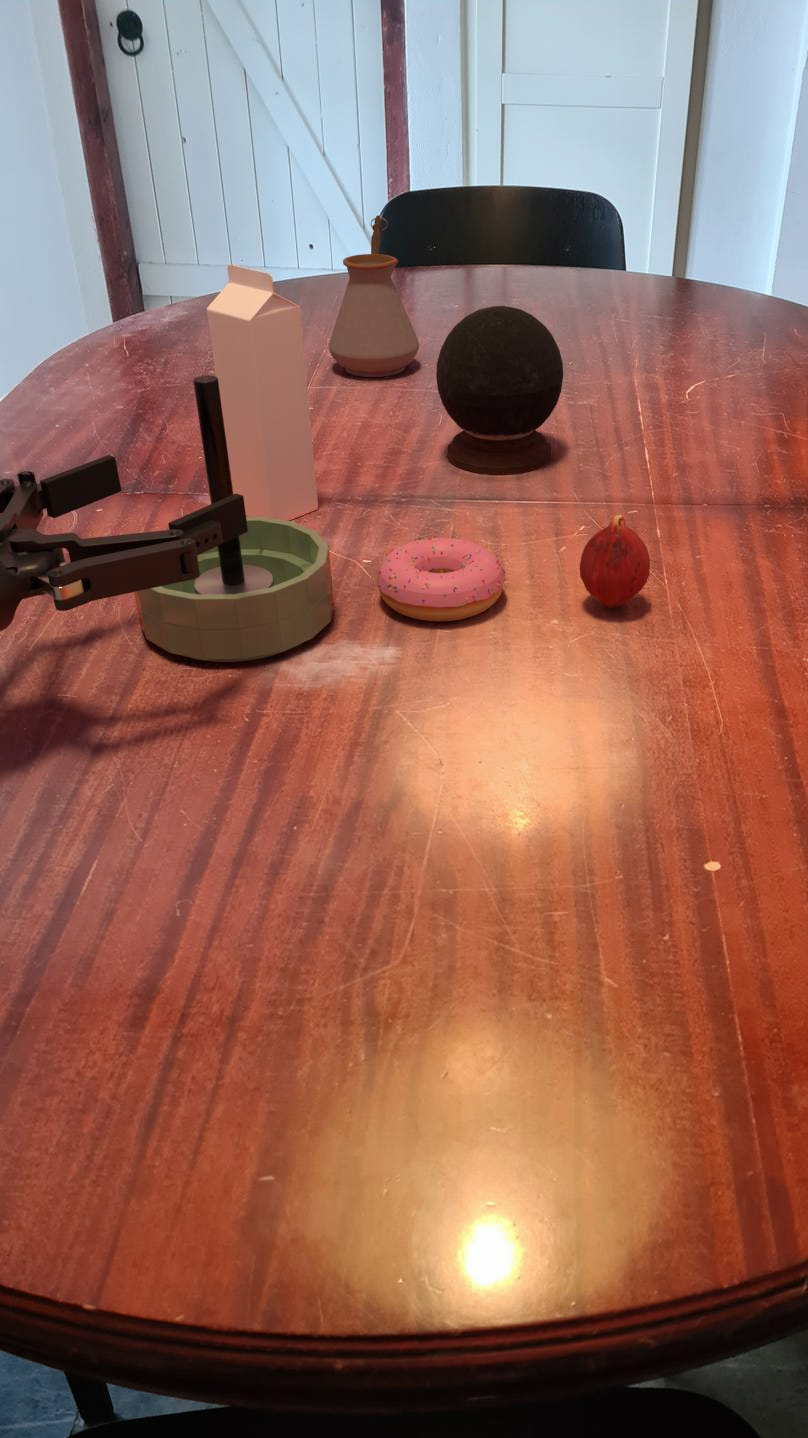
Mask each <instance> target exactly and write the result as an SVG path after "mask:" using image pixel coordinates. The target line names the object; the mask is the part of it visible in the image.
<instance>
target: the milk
mask: <svg viewBox="0 0 808 1438" xmlns="http://www.w3.org/2000/svg"><path fill="white" fill-rule="evenodd" d="M227 276H228V283H227V284H226V285H225V286H224V288H222V290H221V291H220V292H219V293H218V294H217V296H215V298H214V299H213V300H212V302H210V304H209V305H208V306H207V307H206V314H207V315H206V316H207V323H208V331H209V336H210V337H209V338H210V346H211V352H212V361H213V368H214V376H216V377H217V378H218V383H219V390H220V398H221V405H222V413H223V420H224V428H225V435H226V443H227V450H228V457H229V465H230V472H231V480H232V487H233V494H239V495H243V497H244V505H245V512H246V517H267V518H273V519H279V520H285V521H292V520H295V519H297V518H299V517H302V516H304V515H307V514H310V513H313V512H314V511H317V510H318V509H319V501H318V499H319V498H318V489H317V488H318V487H317V479H316V467H315V455H314V443H313V433H312V432H313V431H312V423H311V409H310V400H309V399H310V398H309V388H308V377H307V365H306V355H305V354H306V353H305V344H304V343H305V341H304V332H303V322H302V321H303V320H302V310H301V306H300V305H298V304H296V303H294V302H293V301H291V300H289V299H287V298H285V297H283V296H282V295H279V294H277V293H276V292H275V289H274V280H273V276H272V274H271V273H269V272H265V271H261V270H256V269H252V268H247V267H243V266H239V265H234V264H228V265H227Z"/></svg>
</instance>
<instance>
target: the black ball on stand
mask: <svg viewBox="0 0 808 1438" xmlns="http://www.w3.org/2000/svg"><path fill="white" fill-rule="evenodd" d="M435 372H436V374H435V376H436V377H435V379H436V385H437V391H438V395H439V399H440V400H441V403H442V406H443V408H444V410H445V411H446V413H447V415H448V416H449V418H451V420H452V421H453V422H454V423H455V425H457V426H458V427H459V428H460V429H461V430H462V431H459V432H458V433H457V434H455V436H453V438H452V441H450V443H449V444H448V446H447V449H446V450H447V451H446V453H447V460H448V461H449V463H450V464H452V465H453V466H454V467H456V468H459V469H461V470H464V471H467V472H471V473H476V474H481V475H497V476H498V475H499V476H503V475H516V474H523V473H527V472H528V473H529V472H531V471H535V470H538V469H540V468H542V467H545V465H547V464H548V463H549V462H550V461H551V459H552V450H553V449H552V446H551V444H550V443H549V442H548V440H547V438H546V436H545V435H544V434H543V433H541V432H540V431H538V429H539V428H540V427H542V425H544V424H545V422H546V421H547V420H548V419H549V417H550V416H551V415H552V413H553V411H554V410H555V409H556V406H557V405H558V403H559V399H560V396H561V393H562V388H563V380H564V362H563V359H562V354H561V351H560V348H559V346H558V343H557V342H556V339H555V338H554V335H553V334H552V332H550V330H549V329H548V327H547V326H546V325H545V324H544V323H542V321H540V320H539V319H537V317H535V316H534V315H533V314H531V313H529V312H527V311H525V310H523V309H521V308H517V307H512V306H507V305H492V306H488V307H483V308H479V309H477V310H475V311H474V312H471V313H470V314H468V315H465V317H463V319H461V320H460V321H459V322H458V323H456V324H455V325H454V326H453V328H452V329H451V330H450V332H449V333H448V334H447V336H446V338H445V339H444V342H443V344H442V345H441V347H440V350H439V354H438V357H437V362H436V371H435Z"/></svg>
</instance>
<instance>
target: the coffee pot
mask: <svg viewBox="0 0 808 1438" xmlns="http://www.w3.org/2000/svg"><path fill="white" fill-rule="evenodd" d="M370 220H371V221H370V227H371V229H372V231H373V232H372V235H371V237H370V240H371V241H370V253H362V254H355V255H350V256H347V257H345V258H343V259H342V264H343V266H344V267H346V270H347V273H348V278H349V279H348V282H347V285H346V287H345V291H344V295H343V298H342V301H341V304H340V307H339V310H338V314H337V316H336V319H335V323H334V325H333V326H334V327H333V329H332V333H331V336H330V338H329V341H328V350H329V353H330V355H331V356H332V358H333V359H334V360H335V361H336V362H337V364H338V365H339V366H341V367H343V368H344V370H345V371H346V373H348V374H350V375H353V376H356V377H363V378H383V377H390V376H393V375H397V374H400V373H402V372H404V371H405V370H406V366H408V365H409V364H411V362H412V361H413V360H414V359H415V357H416V356H417V354H418V352H419V348H420V342H419V339H418V337H417V334H416V332H415V330H414V327H413V325H412V322H411V321H410V318H409V316H408V313H407V311H406V308H405V307H404V304H403V302H402V300H401V298H400V295H399V293H398V291H397V288H396V285H395V284H394V282H393V279H392V274H393V273H394V270H395V269H396V266H397V264H398V263H399V260H398V258H396V257H394V256H393V255H392V256H391V255H388V254H383V253H382V254H380V249H381V243H382V237H381V236H382V235H381V233H382V231H385V230H386V229H387V228H388V226H389V223H388V221H387V219H386V218H384V217H381V216H380V215H379V214H378V215H375V217H374V218H373V219H370ZM382 220H383V221H384V222H385V223H386V225H385V227H384V228H383V226H382V225H381V224H382ZM373 221H374V224H372V223H373Z"/></svg>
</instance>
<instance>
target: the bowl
mask: <svg viewBox="0 0 808 1438" xmlns="http://www.w3.org/2000/svg"><path fill="white" fill-rule="evenodd" d="M246 520H247V528H248V532H246V533H244V534H242V535H240V536H239V540H240V547H241V555H242V562H243V564H244V565H254V566H258V567H261V568H264V569H266V570H268V571H269V572H270V573H271V574H272V576H273V579H274V586H273V587H270V588H266V589H260V590H255V591H249V592H244V593H238V594H200V595H197V594H195V590H194V582H195V580H196V579H192V580H187V581H183V582H178V583H173V584H169V585H164V586H159V587H155V588H150V589H145V590H141V591H136V592H133V593H134V599H135V605H136V609H137V615H138V619H139V624H140V627H141V629H142V631H143V633H144V635H145V638H146V640H147V641H149V642H150V643H152V644H154V645H155V646H157V647H159V648H160V649H163V650H164V651H166V652H167V653H169V654H174V655H178V656H183V657H186V658H189V659H192V660H193V659H194V660H198V661H203V662H213V663H214V662H215V663H238V662H247V661H248V662H249V661H254V660H260V659H265V658H268V657H274V656H276V655H279V654H282V653H284V652H287V651H290V650H293V649H294V648H296V647H298V646H300V645H301V644H303V643H306V642H308V641H310V640H312V639H314V638H315V636H317V635H318V634H319V633H320V632H321V631H322V630H323V629H324V628H325V627H327V625H329V623H331V621H332V617H333V616H332V615H333V610H334V607H335V602H334V590H333V580H332V579H333V578H332V568H331V556H330V555H331V554H330V546H329V544H328V543H327V542H326V541H325V539H324V538H323V537H322V536H321V534H320V533H319V532H318V531H316V530H314V529H311V528H309V527H307V526H305V525H303V524H300V523H297V522H295V521H292V520H290V521H285V520H279V519H273V518H267V517H246ZM197 557H198V563H199V570H200V575H201V574H202V573H204V572H206V571H208V570H211V569H213V568H217V567H220V561H219V555H218V548H217V546H216V547H214V548H212V549H210V550H208V551H206V552H204V553H202V554H199V555H197Z"/></svg>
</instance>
